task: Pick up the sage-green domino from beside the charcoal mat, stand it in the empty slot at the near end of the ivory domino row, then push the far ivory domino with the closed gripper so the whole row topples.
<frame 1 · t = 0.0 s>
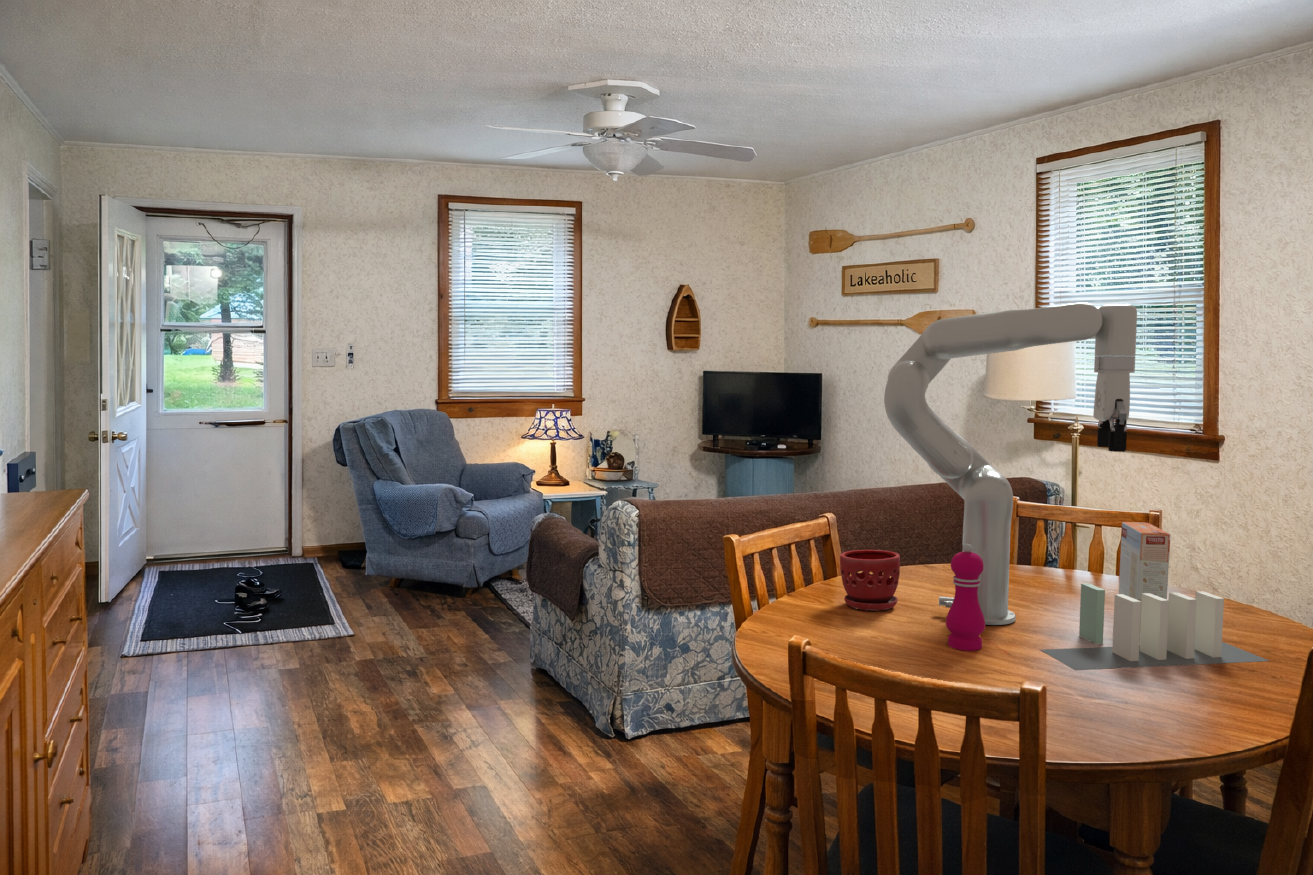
hand: (1111, 449, 201), 37 cm above the table, tool pointing down, fingers open, 9 cm apart
domino d: (1206, 652, 183), resting on domino mat
sage domino: (1090, 641, 191), on the table
domino mat: (1152, 657, 181), on the table
domino c: (1179, 653, 182), resting on domino mat
pepper mill: (964, 647, 189), on the table
plant pot: (868, 607, 219), on the table
domino a: (1125, 656, 181), resting on domino mat
cracker box: (1140, 627, 202), on the table
domino b: (1152, 655, 181), resting on domino mat
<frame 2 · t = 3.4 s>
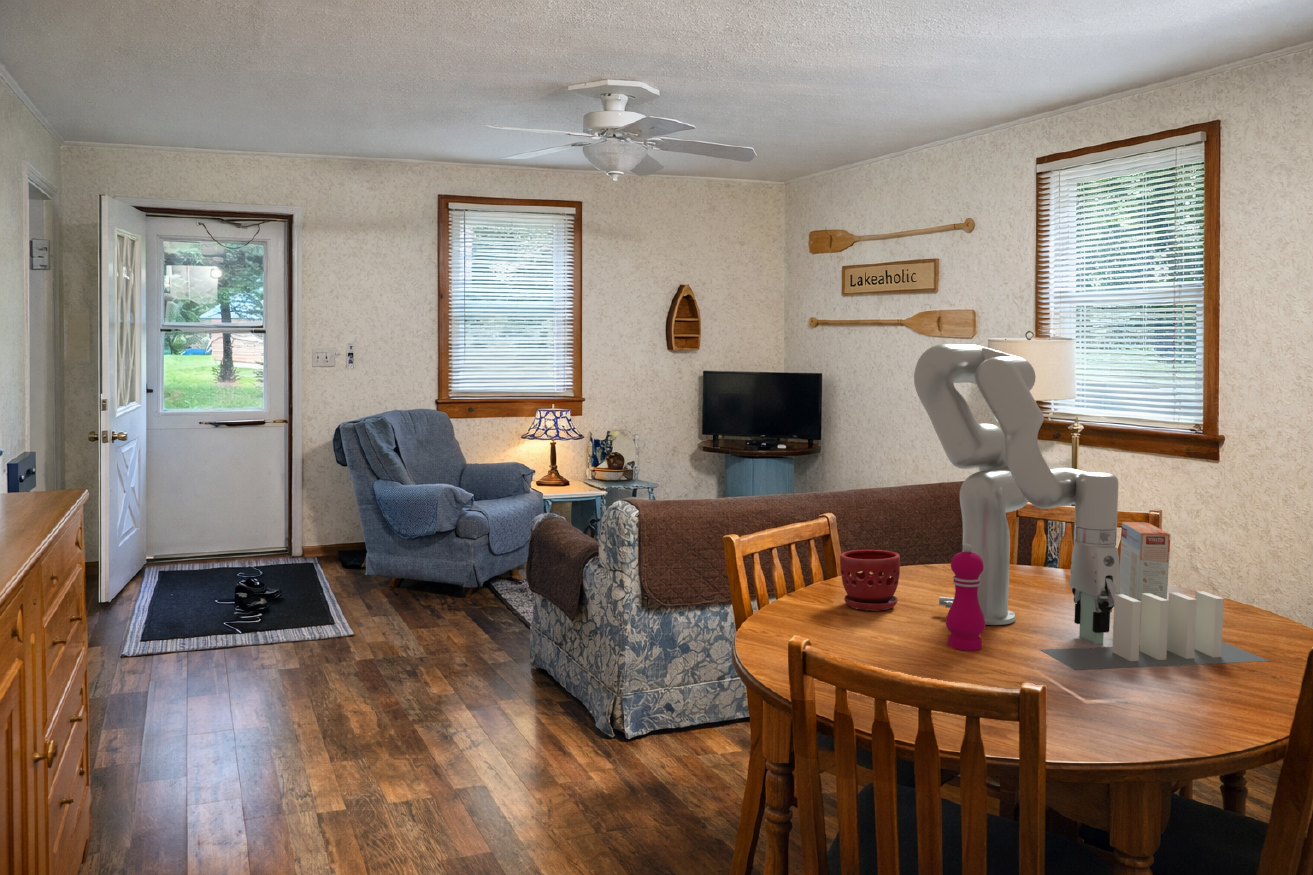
hand: (1091, 626, 191), 3 cm above the table, tool pointing down, fingers closed on sage domino, 5 cm apart
sage domino: (1091, 641, 191), on the table, touching gripper
everything else where it was.
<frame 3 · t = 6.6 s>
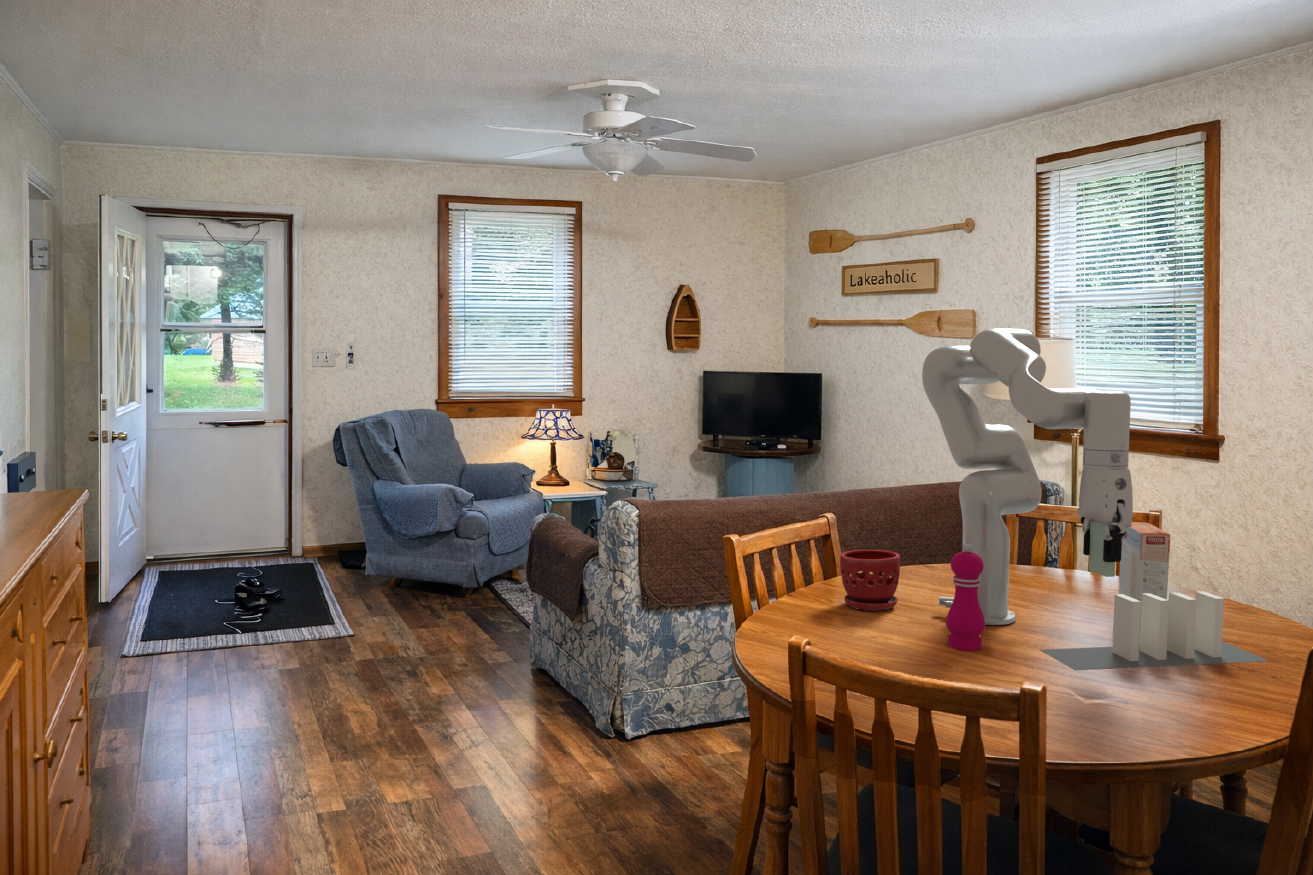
hand: (1101, 557, 178), 19 cm above the table, tool pointing down, fingers closed on sage domino, 5 cm apart
sage domino: (1101, 573, 178), point 16 cm above the table, touching gripper
everything else where it was.
when the fingers open (4 cm above the table, at t = 9.8 s): sage domino stays where it is, resting on domino mat.
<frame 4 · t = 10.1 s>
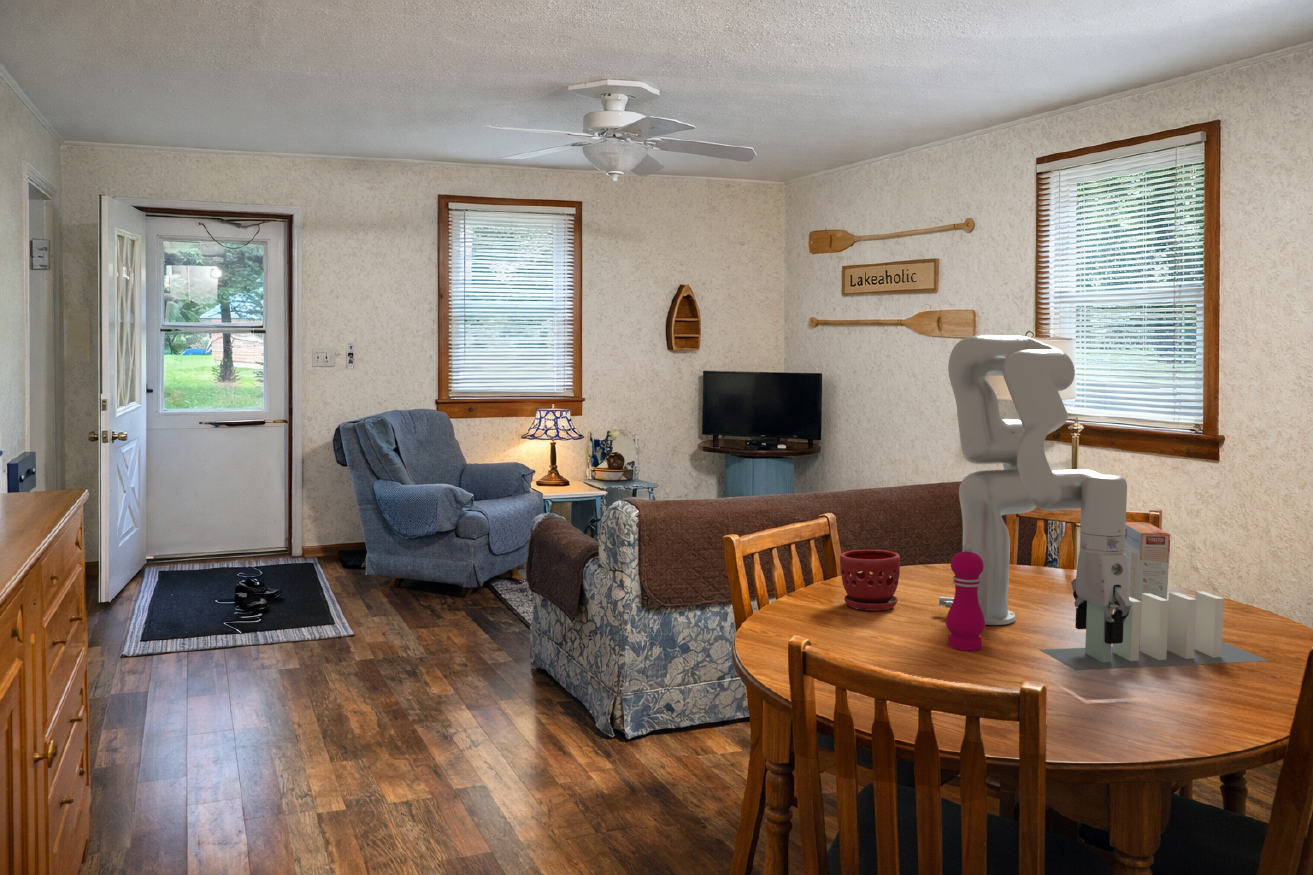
hand: (1098, 635, 179), 5 cm above the table, tool pointing down, fingers open, 8 cm apart
sage domino: (1097, 657, 180), resting on domino mat
everything else where it was.
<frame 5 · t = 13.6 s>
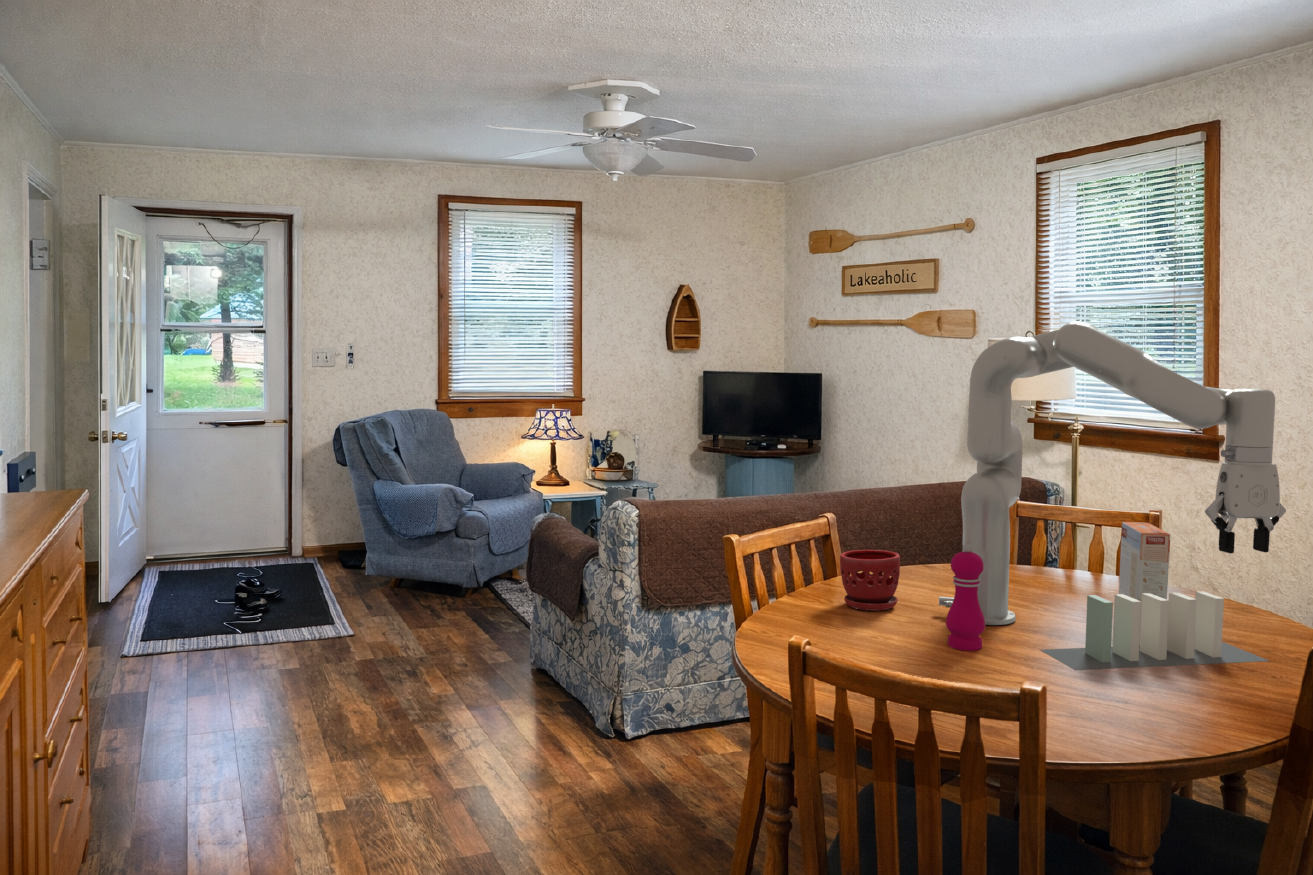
hand: (1243, 550, 182), 20 cm above the table, tool pointing down, fingers open, 6 cm apart
nothing on the table moved.
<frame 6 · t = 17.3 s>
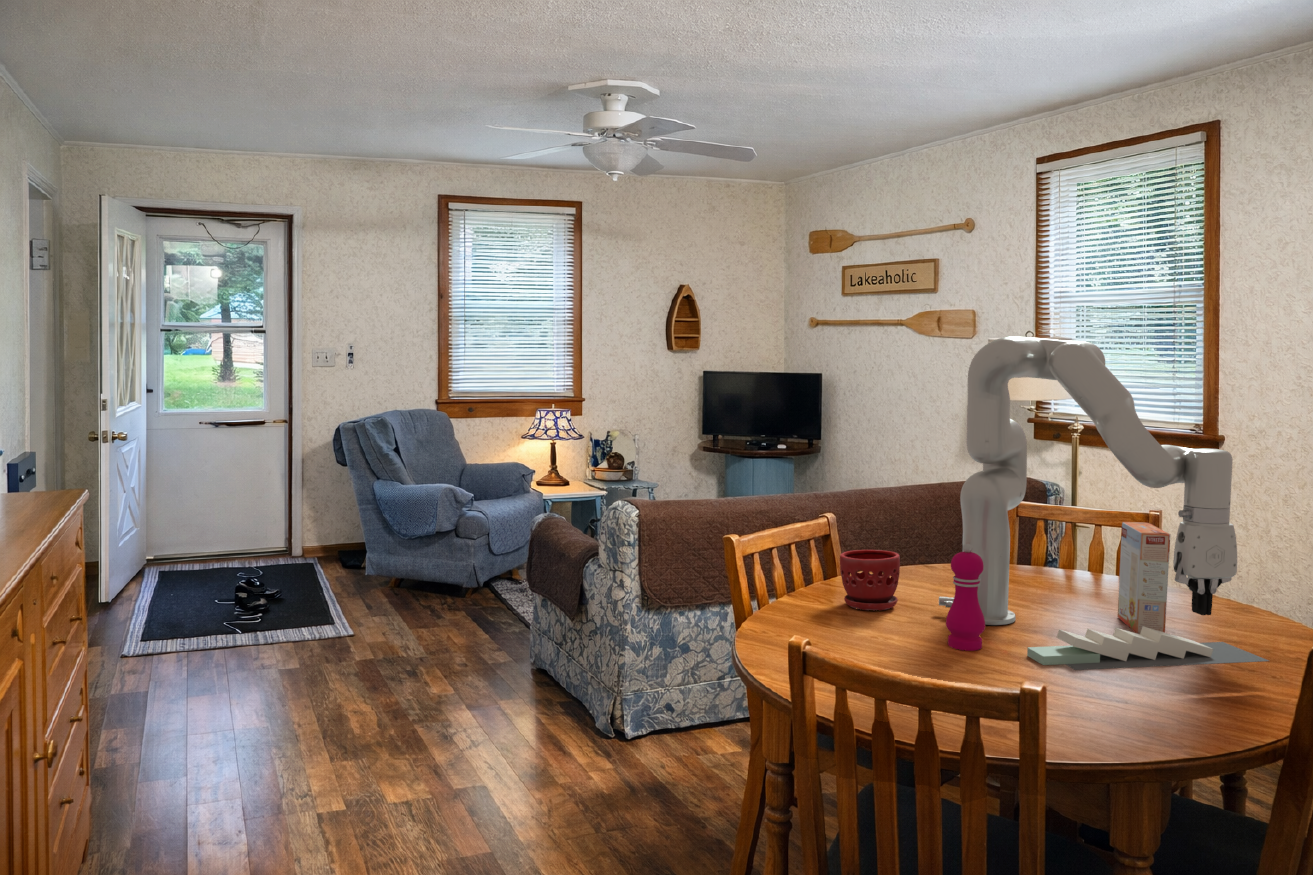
hand: (1201, 613, 182), 8 cm above the table, tool pointing down, fingers closed
domino d: (1201, 648, 183), point 1 cm above the table, tilted 73°, touching domino c
sage domino: (1091, 653, 180), point 1 cm above the table, tilted 90°, touching domino a, domino mat
domino c: (1175, 650, 182), point 1 cm above the table, tilted 73°, touching domino b, domino d, domino mat
domino a: (1118, 652, 180), point 1 cm above the table, tilted 73°, touching domino b, sage domino
domino b: (1146, 651, 181), point 1 cm above the table, tilted 73°, touching domino a, domino c, domino mat
everything else where it was.
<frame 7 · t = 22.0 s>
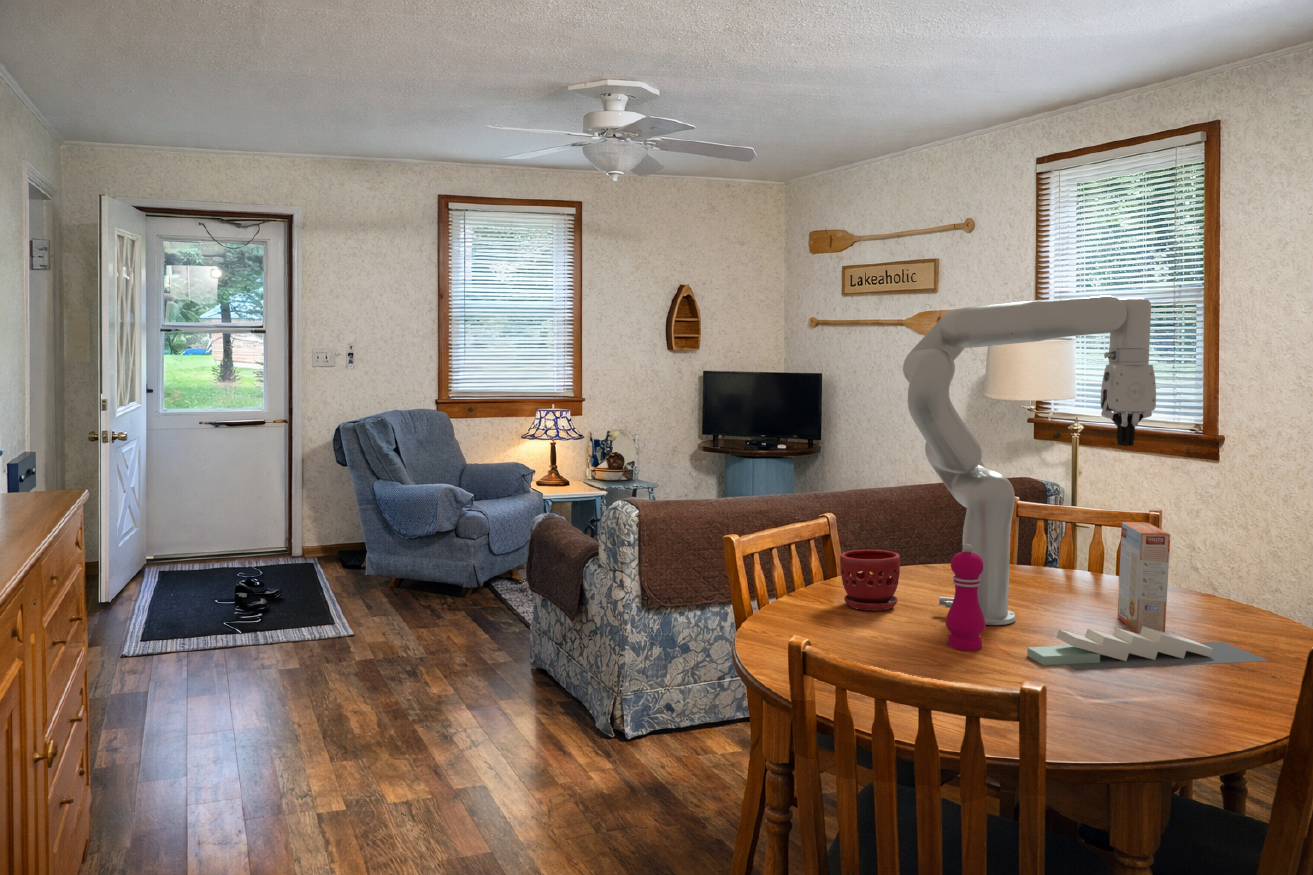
hand: (1125, 445, 206), 37 cm above the table, tool pointing down, fingers closed
nothing on the table moved.
at the end: sage domino tilted 90°; domino b tilted 73°; sage domino inside the target area (1.1 cm from its centre), point 1.3 cm above the table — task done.
